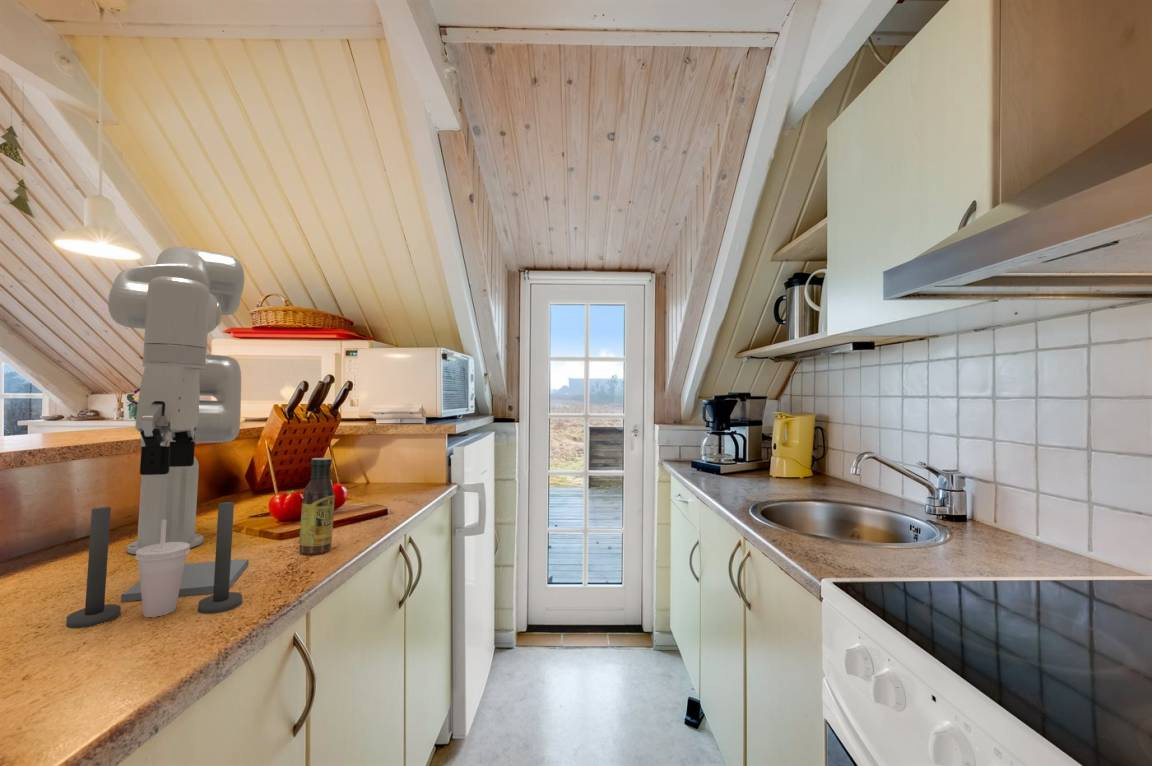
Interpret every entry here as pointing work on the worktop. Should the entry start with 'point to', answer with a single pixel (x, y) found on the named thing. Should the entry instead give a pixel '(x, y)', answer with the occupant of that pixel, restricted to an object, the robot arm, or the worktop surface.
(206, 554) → the worktop surface
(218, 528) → the post
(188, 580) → the slate board
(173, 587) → the smoothie
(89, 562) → the post
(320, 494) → the sauce bottle
